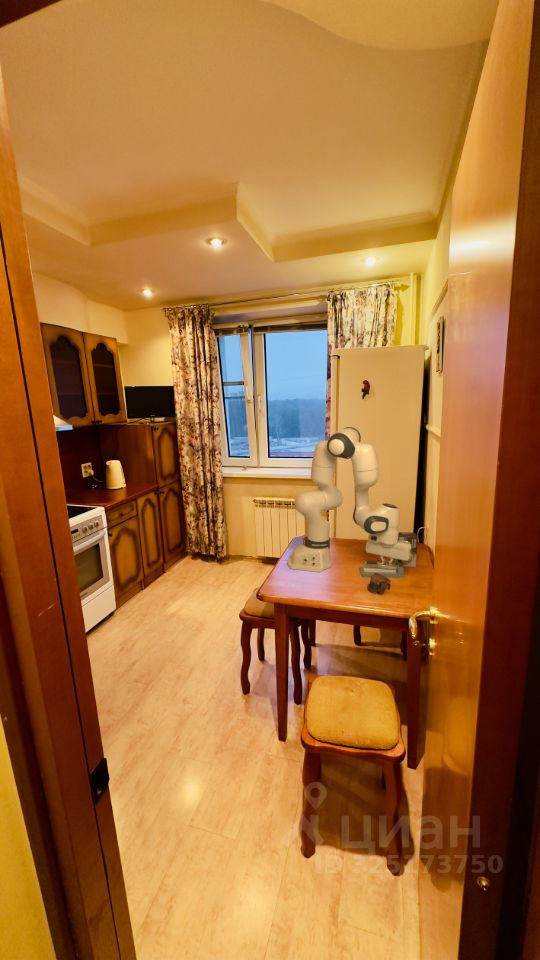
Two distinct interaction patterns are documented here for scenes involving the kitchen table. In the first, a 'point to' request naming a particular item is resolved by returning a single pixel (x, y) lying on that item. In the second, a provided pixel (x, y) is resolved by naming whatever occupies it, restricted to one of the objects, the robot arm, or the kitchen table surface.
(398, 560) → the coffee box
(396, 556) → the robot arm
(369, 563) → the arm
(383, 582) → the pottery mug
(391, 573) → the base
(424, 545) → the kitchen table surface
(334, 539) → the kitchen table surface
